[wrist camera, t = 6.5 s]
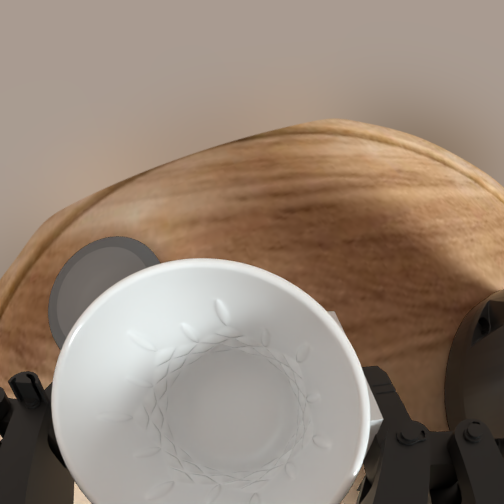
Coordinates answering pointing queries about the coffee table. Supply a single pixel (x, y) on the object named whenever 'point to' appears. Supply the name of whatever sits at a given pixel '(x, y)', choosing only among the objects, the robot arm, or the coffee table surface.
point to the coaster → (92, 279)
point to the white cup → (209, 391)
